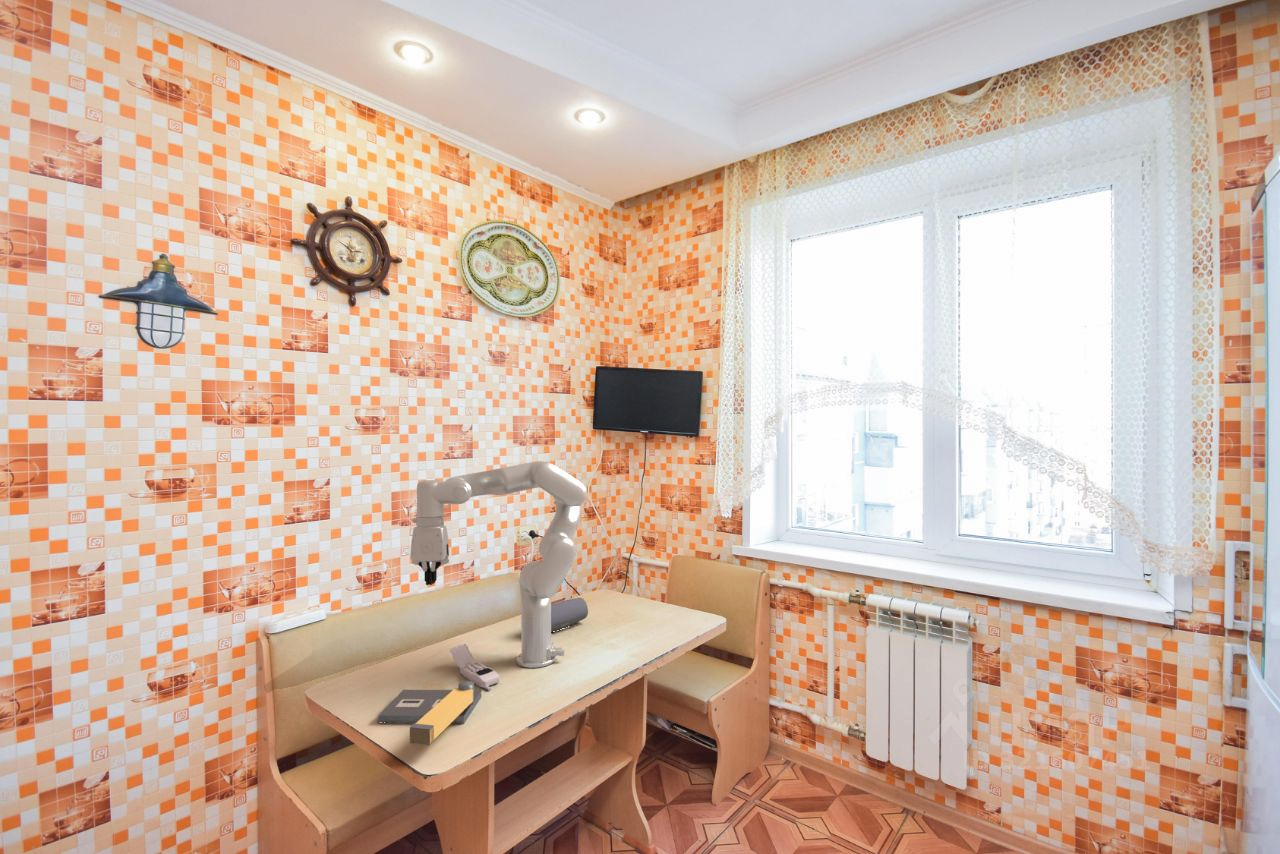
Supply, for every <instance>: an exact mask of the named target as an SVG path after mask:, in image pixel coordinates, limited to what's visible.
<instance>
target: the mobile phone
mask: <svg viewBox="0 0 1280 854" xmlns="http://www.w3.org/2000/svg"><path fill="white" fill-rule="evenodd" d="M448 649H449V653H450V654H451V656H452V658H453V660H454V661H455V663H456V665H457V666H458V668H459V672H460V674H461V675H462V676H463V677H465V678H466V679H468V681H472V682H474V685H477V686H478V687H480V688H483V689H485V690H487V691H489V692H490V691H491V689H492V688H491V687H490V686H492V685H495V684H497V683H499V682H500V681H501V680H500V678H501V677H500V674H499V673H498V672H497V671H496V670H494V669H492V668H491V667H488V666H486V665H484V664H482V663H481V662H479V661H477V660H475V658H474V657H473V655H472V652H471V651H470V649H469V646H468V645H467V644H466V643H464V644H461V645H456V646H453V647H450V648H448Z"/></svg>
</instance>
